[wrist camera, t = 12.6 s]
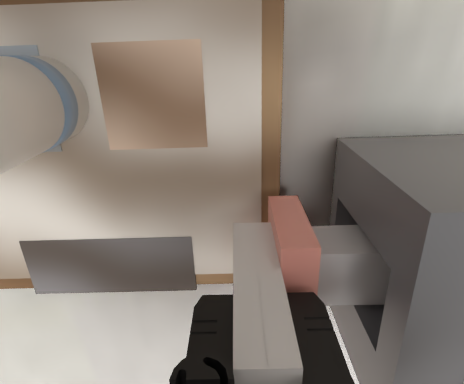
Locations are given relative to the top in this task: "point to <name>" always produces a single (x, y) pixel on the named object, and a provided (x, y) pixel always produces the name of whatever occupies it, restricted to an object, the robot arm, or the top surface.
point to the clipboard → (145, 143)
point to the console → (406, 255)
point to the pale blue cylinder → (37, 107)
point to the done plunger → (326, 257)
